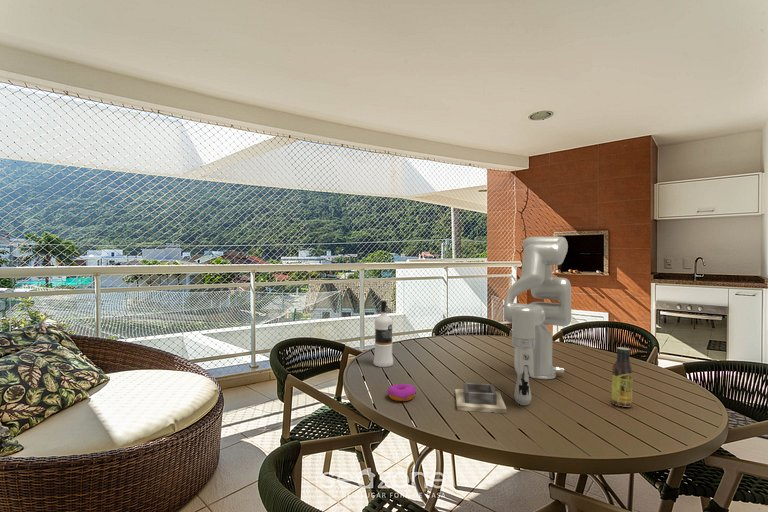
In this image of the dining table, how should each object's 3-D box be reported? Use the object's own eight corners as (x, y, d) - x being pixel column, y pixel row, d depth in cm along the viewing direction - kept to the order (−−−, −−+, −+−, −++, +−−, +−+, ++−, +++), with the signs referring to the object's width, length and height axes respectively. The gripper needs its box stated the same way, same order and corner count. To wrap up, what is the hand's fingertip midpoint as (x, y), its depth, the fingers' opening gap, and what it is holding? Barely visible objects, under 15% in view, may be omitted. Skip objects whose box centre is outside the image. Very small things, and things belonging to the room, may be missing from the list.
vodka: (383, 360, 187) (384, 299, 187) (397, 365, 180) (398, 300, 180) (369, 364, 181) (369, 300, 180) (383, 369, 174) (383, 302, 174)
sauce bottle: (621, 409, 131) (622, 351, 131) (606, 402, 137) (607, 346, 137) (637, 407, 133) (638, 350, 132) (621, 401, 139) (622, 345, 139)
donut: (405, 391, 147) (405, 379, 147) (421, 400, 138) (421, 387, 138) (382, 396, 142) (382, 384, 142) (397, 406, 133) (397, 392, 133)
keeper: (499, 395, 143) (499, 382, 143) (506, 413, 127) (506, 398, 127) (455, 393, 145) (455, 379, 145) (457, 410, 129) (457, 395, 129)
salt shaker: (517, 398, 140) (517, 363, 140) (533, 402, 136) (534, 366, 136) (511, 403, 135) (511, 366, 135) (527, 407, 132) (528, 369, 132)
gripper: (540, 348, 127) (539, 404, 127) (529, 337, 143) (528, 387, 143) (516, 347, 128) (515, 402, 128) (508, 336, 144) (507, 386, 144)
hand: (522, 394), depth 136 cm, fingers closed on salt shaker, 3 cm apart
